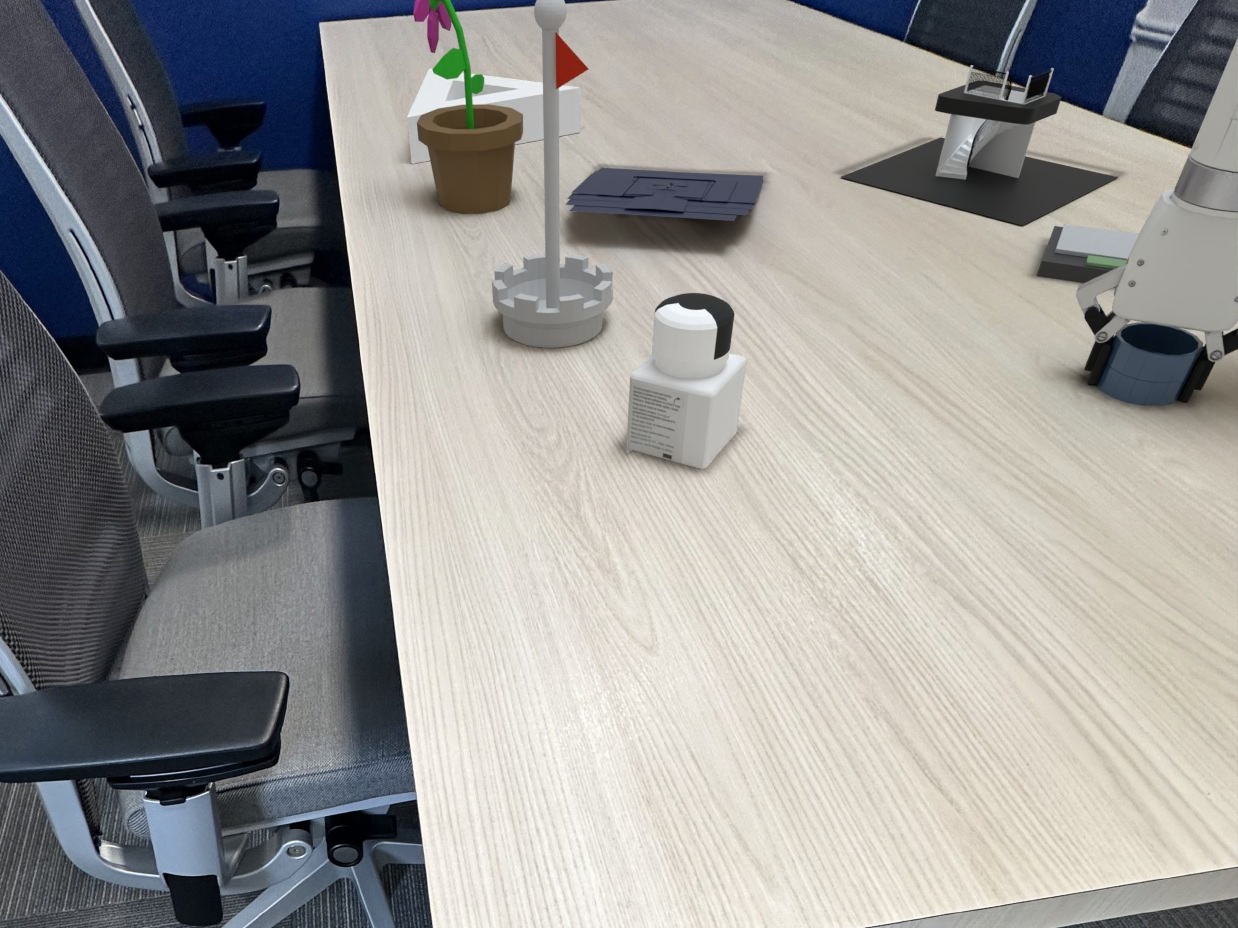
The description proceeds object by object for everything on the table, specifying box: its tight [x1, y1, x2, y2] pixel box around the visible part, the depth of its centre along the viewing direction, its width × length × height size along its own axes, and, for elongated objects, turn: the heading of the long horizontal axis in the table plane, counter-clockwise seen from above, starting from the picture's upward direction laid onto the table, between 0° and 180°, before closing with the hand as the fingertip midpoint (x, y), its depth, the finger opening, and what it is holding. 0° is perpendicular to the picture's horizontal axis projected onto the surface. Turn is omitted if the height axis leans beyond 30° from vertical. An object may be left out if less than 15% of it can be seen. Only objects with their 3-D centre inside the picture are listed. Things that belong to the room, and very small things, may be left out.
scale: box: [1036, 223, 1139, 289], centre depth 111 cm, size 14×12×3 cm
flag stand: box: [491, 0, 614, 349], centre depth 95 cm, size 13×13×30 cm
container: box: [625, 292, 748, 470], centre depth 83 cm, size 8×8×13 cm
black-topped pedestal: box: [840, 64, 1119, 226], centre depth 132 cm, size 28×26×13 cm
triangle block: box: [406, 67, 582, 165], centre depth 155 cm, size 30×26×6 cm
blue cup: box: [1095, 321, 1204, 407], centre depth 90 cm, size 7×7×5 cm
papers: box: [565, 167, 764, 222], centre depth 130 cm, size 24×30×4 cm
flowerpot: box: [412, 0, 523, 214], centre depth 125 cm, size 14×14×30 cm
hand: (1138, 385), depth 92 cm, fingers closed on blue cup, 7 cm apart
